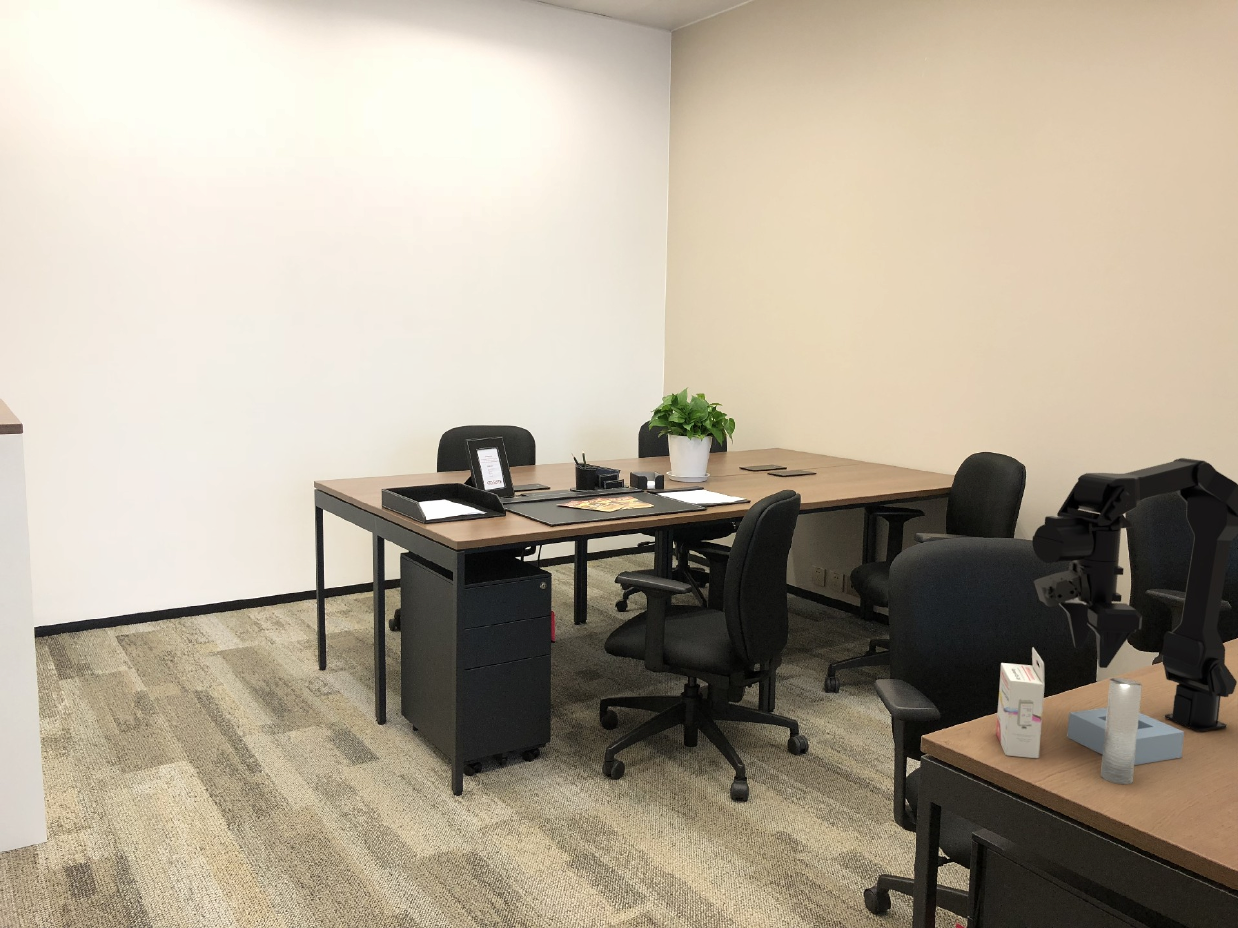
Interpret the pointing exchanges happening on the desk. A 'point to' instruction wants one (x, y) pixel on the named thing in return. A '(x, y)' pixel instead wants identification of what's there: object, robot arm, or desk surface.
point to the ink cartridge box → (1021, 708)
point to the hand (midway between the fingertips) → (1090, 657)
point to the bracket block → (1151, 735)
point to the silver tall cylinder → (1121, 730)
